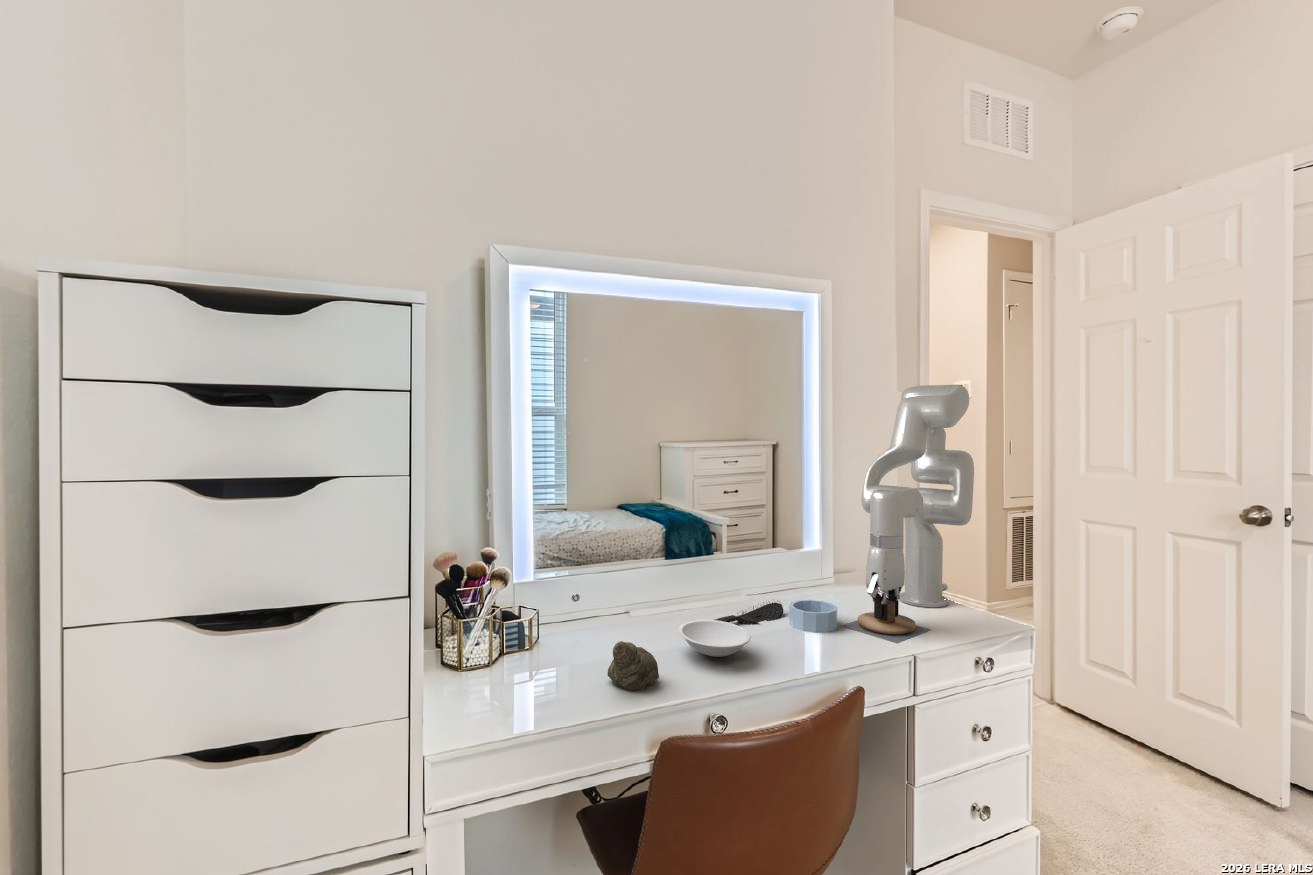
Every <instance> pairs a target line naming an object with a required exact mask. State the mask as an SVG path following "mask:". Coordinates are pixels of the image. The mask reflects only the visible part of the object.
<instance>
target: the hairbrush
mask: <svg viewBox="0 0 1313 875" xmlns="http://www.w3.org/2000/svg"><path fill="white" fill-rule="evenodd" d="M767 601H768V600H766V602H764V601H762V603H763V604H760V607H759V606H757V605H753V606H752V608H751V607H748V609H749V610H741V611H740V613H741V614H739V612H736V614H737V615H733V614H731V615H727V616H722V617H719V618H716V619H714V620H717V621H723V622H728V623H733V622H736V621H738V622H742V623H744V624H747V625H760V623H761V622H765V621H766V622H772V621H776V620H778V619H779V620H780V618H781V617H782V616H783V614H784V606H783V604H782V602H781V601H780V600H776V601H777V602H775V601H774V599H773V598H772V600H771V601H772V602H767ZM773 601H774V602H773ZM755 607H756V608H755ZM750 608H751V609H750ZM754 608H755V609H754Z"/></svg>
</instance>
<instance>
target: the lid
mask: <svg viewBox="0 0 1313 875" xmlns="http://www.w3.org/2000/svg"><path fill="white" fill-rule="evenodd" d="M885 604H887V620H886V621H883V620H880V619H876V618H875V617H874V611H872V612H865V613H861V614H860V615H858V617H857V620H858V624H859V625H860V626H861V627H863V628H865V629H867V630H870V631H874V632H879V633H885V634H905V633H910V632H912V631H914V630H915V625H916V621H915V620H913V619H912V618H910V617H907V616H906V615H903V614H902V615H901V614H898V616H897V617H895V602H894V601H891V600H886V603H885Z"/></svg>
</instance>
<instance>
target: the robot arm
mask: <svg viewBox="0 0 1313 875" xmlns="http://www.w3.org/2000/svg"><path fill="white" fill-rule="evenodd" d="M969 394H970V393H969V391H968V388H966V387H965V386H964V385H962V384H934V385H933V384H931V385H929V384H926V385H915V386H910V387H908V388H905V389H904V390H903V391H902V392H901V396H900V402H899V403H898V406H897V410H896V414H895V420H894V425H893V431H892V434H891V435H892V436H891V438H890V439H891V440H890V444H889V447H888V448H887V449H886V450H884V451H883V452H881V454H880V455H879V456H877V457H876V459H875V460H874V461H873V462H872V463H871V464H870V466H869V467H868V469H867V471H866V474H865V477H864V481H863V485H862V490H861V498H860V500H861V507H862V509H863V510H864V512H866V513H868V514H869V518H870V519H869V549H868V552H867V557H866V558H867V559H866V568H865V570H866V571H865V587H866V588H867V594H868V595H869V596H870V597H871V598H872V602H873V604H874V605H873V612H874V617H875V618H876V619H880V620H883V621H886V620H887V604H885V603H886V600H891V601H894V602H895V617H897V616H898V615H899V607H900V606H899V602H902V603H904V604H907V605H911V606H916V607H921V608H943V607H946V606H948V604H949V599H948V598H947V597H945V596H944V595H943V592H945V591H947V590H948V587H949V586H948V585H947V584H946V583H943V560H944V559H943V551H944V550H943V549H944V548H943V547H944V542H943V538H942V535H941V533H940V532H939V530H938V529H937V527H936V526H935V525H937V524H938V525H949V526H966V525H967V524H969V522H970V521H971V519H972V516H973V513H972V512H973V502H974V501H973V499H974V482H975V481H974V480H975V464H974V463H975V462H974V460H973V457H972V455H971V454H970V453H969V452H967V451H965V450H957V449H946V440H947V439H946V438H947V432H946V431H945V429H949V428H953V427H955V425H957V424H958V423H959V421H960V420H961V419H962V417H963V416H964V415H965V414H966V413H967V411H968V408H969V406H970V395H969ZM910 463H911V464H910ZM908 464H910V473H911V474H910V475H911V477H912V479H913V480H914V481H916V482H918V483H923V484H931V485H932V484H933V485H946V486H947V485H949V486H952V487H953V489H944V488H943V489H942V488H935V487H934V488H933V487H911V486H897V485H884V484H880V483H881V481H882V480H883V478H884V477H885V476H886V475H887V474H888V473H890V472H891V471H893V470H895V469H897V468H900V467H902V466H906V465H908ZM934 524H935V525H934ZM904 526H905V527H904ZM904 529H905V534H904ZM904 535H905V538H904ZM904 539H905V541H904ZM904 542H905V545H904ZM904 546H905V547H904ZM904 548H905V553H904ZM903 587H904V591H903V592H902V589H903ZM880 593H881V594H880ZM944 599H946V600H944Z"/></svg>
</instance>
